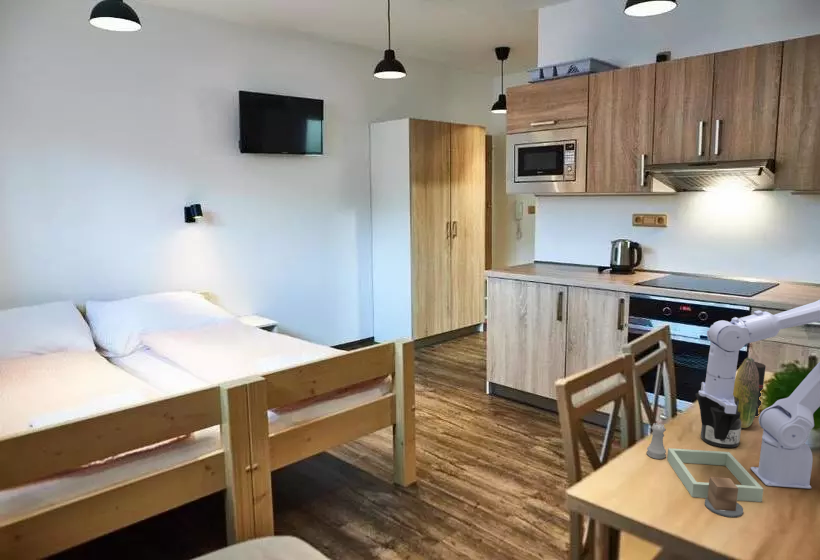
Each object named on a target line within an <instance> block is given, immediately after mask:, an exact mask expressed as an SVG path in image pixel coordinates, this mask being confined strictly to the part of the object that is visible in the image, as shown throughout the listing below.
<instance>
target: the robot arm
mask: <svg viewBox="0 0 820 560" xmlns="http://www.w3.org/2000/svg"><path fill="white" fill-rule="evenodd" d="M817 322H820V299H818V300H816V301H813V302H810V303H807V304H804V305H801V306H797V307H794V308H792V309H788V310H785V311H781V312H778V313H775V314H772V313H770V312H769V311H763V310H759V309H758V310H754V311H753V314H751V315H747V316H743V317H742V316H741V317H736V316H734V317H733V318H731V321H728V320H723V319H722V320H718V321H715V322H713V324H711V325H710V327H709V329H707V330H706V335H707V338H708V341H710V347H709V353H708V360H707V367H706V374H705V375H706V377H705V382H704V381H702V382H701V384H700V385H701V387H700V390H698V392H695V398H696V399H697V403H698V406H699V412H700V414H699V415H700V421H701V422H700V423H701V426H702V425H709V426H712V424H713V422H714V437H715V439H719V440H725V439H726V438H727V435H728V433H729V431H730V429H731V427H732V425H733V424H734V422H735V421H736V420H737V419H738V418H739V417H740V413H739V412H738V411H736V408H737V406H736V405H735V402H734V396H733V391H734V384H735V378H736V375H737V370H738V369H737V368H738V367H737V366H738V361H739V353H740V350H741V349H743V348H744V346H745V345H747V344H750V343H755V342H759V341H763V340H767V339H770V338H774V337H777V335H778V334H779V332H780V331H781V330H783V329H787V328H792V327H794V328H795V327H797V326H798V327H799V326H803V325H808V324H812V323H817ZM719 405H721V406H720V408H718V406H719ZM819 408H820V361H819V362H818V363H816V365H815V366H814V367H813V368H812V370H811V371H810V372H809V373H808V374H807V375H806V376H805V378H804V379H803V380H802V381H801V382H800V383H799V385H798V386H797V387H796V388H795V389H794V390H793V392H792V393H790V395H789V396H787V397H784V398H780V399H778V400H776V401H775V402H774V403H773V404H772V405H770V406H768V407H766V408H764V409H763V410H761V411H760V416H759V417H758V423H759V426H760V428H761V429H762V430H763V431H762V436H761V446H760V453H759V463H758V464H759V465H758V466H751V467H750V470H751V471H752V472H753V473H754V474H755V475H756V476H757V477H758V479H760V481H761V482H762V483H763V484H764V485H765V486H769V487H770V486H771V487H783V488H795V489H796V488H797V489H808V490H809V489H812V486H811V485H810V483H811V475H812V469H813V460H814V459H813V458H814V457H813V452H812V450H811V448H810V446H809V445H808V444H807V441H808V439H809V436H810V433H811V431H812V429H813V428H814V427H815V420H814V419H815V418H814V414H815V412H816V411H817V410H818V409H819Z"/></svg>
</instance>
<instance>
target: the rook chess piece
mask: <svg viewBox="0 0 820 560" xmlns="http://www.w3.org/2000/svg"><path fill="white" fill-rule="evenodd" d="M651 429H652V432H651V435H652V437H651V441H650V443H649V445H648V446H647V447H646V450H647V451H646V454H647V455H648V457H649V458H652V459H654V460H663V459H665V458H666V457H667V449H666V448H665V445H664V437H665V434H664V432H666V428H665V425H664V424H663V423H660V422H654V423H653V424H652V426H651Z"/></svg>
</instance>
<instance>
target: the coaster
mask: <svg viewBox="0 0 820 560" xmlns="http://www.w3.org/2000/svg"><path fill="white" fill-rule="evenodd" d="M707 498H708V497H707ZM707 498H704V506H705V508H706V509H707V510H709V512H711V513H714V514H716V515H718V516H721V517H726V518H739V517H742V515H743V514H744V507H743V506H742V505H741V504H740V503H738V502H737V503H736V511H729V510H716V509H714V508H713V506H712V505H711V503H710V502H709V501H708V499H707Z"/></svg>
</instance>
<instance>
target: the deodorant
mask: <svg viewBox="0 0 820 560" xmlns="http://www.w3.org/2000/svg"><path fill="white" fill-rule="evenodd" d="M743 362H744V361H742V362H741V364H742V363H743ZM754 362H755V364H756V367H757V369H758V372H759V395H758V401H757V407H756V413H755V416H758V415H759V414H758V408H759V406H760V405H761V406H762V402H761V401H760V400H759V397H760V396H761V393H760V391H761V390H762V389H763V390H764V383H765V374H766V367H767V366H766V364H764V363H761V362H757V361H754Z"/></svg>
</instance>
